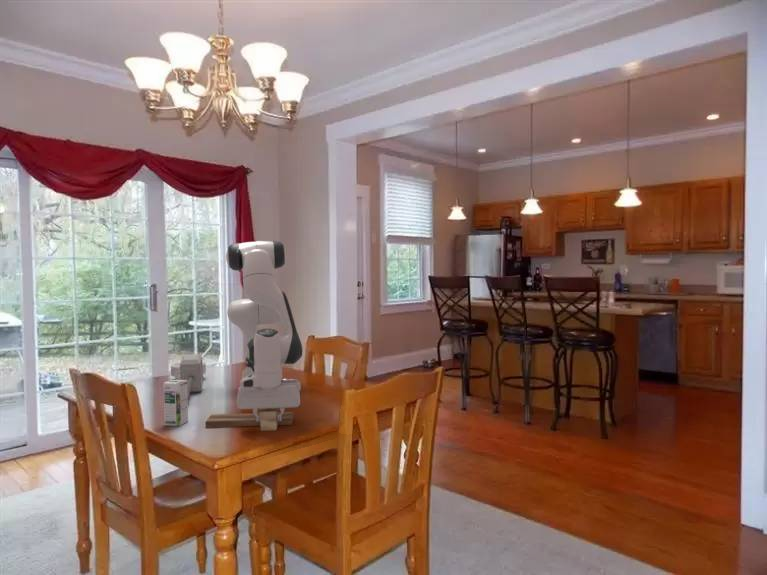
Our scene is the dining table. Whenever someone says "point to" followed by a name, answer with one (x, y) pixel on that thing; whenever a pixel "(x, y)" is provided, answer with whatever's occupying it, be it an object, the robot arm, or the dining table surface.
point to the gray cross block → (176, 370)
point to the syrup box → (175, 402)
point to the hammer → (192, 372)
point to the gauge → (269, 419)
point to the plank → (243, 420)
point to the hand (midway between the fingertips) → (269, 421)
